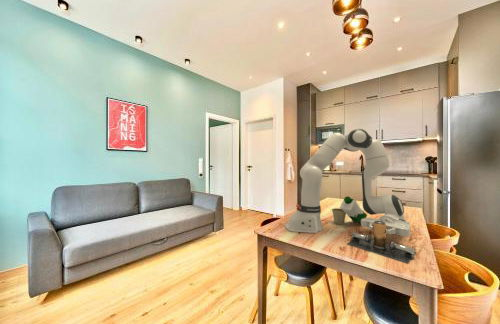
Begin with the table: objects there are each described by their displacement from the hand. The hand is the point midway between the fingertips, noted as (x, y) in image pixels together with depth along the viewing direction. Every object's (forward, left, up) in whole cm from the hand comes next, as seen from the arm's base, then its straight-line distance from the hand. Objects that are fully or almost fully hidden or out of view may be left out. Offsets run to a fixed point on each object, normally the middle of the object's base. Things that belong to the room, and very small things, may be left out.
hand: (379, 230), depth 92 cm
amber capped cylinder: (+1, +1, -8) cm, 8 cm away
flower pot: (-1, +39, -9) cm, 40 cm away
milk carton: (+13, +39, -6) cm, 42 cm away
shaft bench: (+1, +1, -9) cm, 9 cm away
